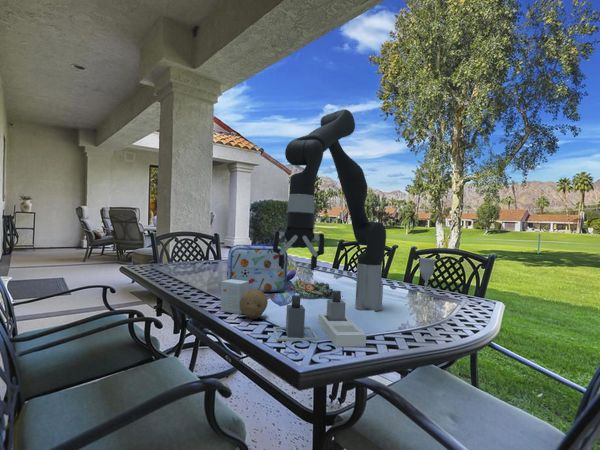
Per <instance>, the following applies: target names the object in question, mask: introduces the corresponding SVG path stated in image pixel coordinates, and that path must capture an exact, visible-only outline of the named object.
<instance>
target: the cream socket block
mask: <svg viewBox="0 0 600 450" xmlns="http://www.w3.org/2000/svg"><path fill="white" fill-rule="evenodd" d="M326 318H327V312H326V313H318V321H317V322H318V325H319V326H320V327H321V329H322V330H323V332H324V333H325V334H326V336H327V337H328V338H329V339H328V340H330V341H331V343H332V344H333V346H334V347H335V348H353V347H354V348H355V347H363V348H365V347H367V346H366V344H367V334H366V333H365V332H364V331H363V330H362V329H361V328H360V327H359V326H357V324H356V323H355V322H353V320H352V319H350V318H349V317H348V316H347V315H346V314H345V321H328V320H327V319H326Z"/></svg>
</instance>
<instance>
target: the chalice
mask: <svg viewBox="0 0 600 450" xmlns="http://www.w3.org/2000/svg"><path fill="white" fill-rule="evenodd" d="M436 260H437V259H436V258H430V257H429V258H428V257H427V258H426V257H425V258H424V257H419V258H418V261H419V268H418V269H419V272H420V275H421V278H422V279H423V280H424V284H423V285H424V287H423V290H424V292H423V293H421V295H420V296H421V297H425V298H431V296H430V294H429V293H428V289H429V288H428V285H429V283H428V281H429V280H430V279H431V278H432V276H433V274H434V272H435V264H436V263H435V262H436Z"/></svg>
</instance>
